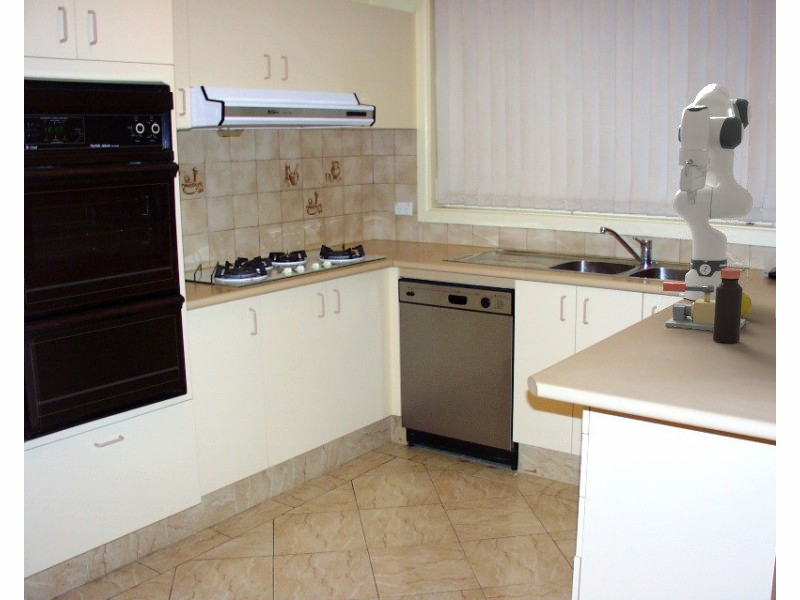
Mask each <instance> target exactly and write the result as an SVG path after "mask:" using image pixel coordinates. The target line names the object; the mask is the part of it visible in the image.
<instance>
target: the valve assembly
mask: <svg viewBox="0 0 800 600" xmlns="http://www.w3.org/2000/svg"><path fill="white" fill-rule="evenodd" d="M710 296H711V293H707V292H704V299H698V300H697V301H695V300H694V301H693V302H692V304H689V303H682V302H679V303H678V302H674V303H673V306H672V316H671V318H669V319H668V320H667V321H666V322H665V327H666V326H676V327H683V328H682V329H686V328H692V329H691V330H696V329H701V330H700V331H706V330H710V331H709V332H714V315H715V300H710ZM745 324H746V318H741V322H740V330H741V329H742V327H743V326H744V325H745Z"/></svg>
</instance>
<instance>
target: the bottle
mask: <svg viewBox="0 0 800 600" xmlns="http://www.w3.org/2000/svg"><path fill="white" fill-rule="evenodd" d="M740 276H741V270H740V269H739V268H728V267H727V268H725V269H721V276H720V277H721V279H722V280H721V283H720V284H719V285H718V286H717V287H716V298H715V315H714V331H712V332H713V334H712V335H713V336H712V339H713V341H714V342H716V343H720V344H737V343H739V341H740V337H741V335H740V333H741V329H740V322H741V319H742V318H741V306H742V293H743V287H742V285H741V284H740V283H739V280H740Z"/></svg>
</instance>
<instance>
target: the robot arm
mask: <svg viewBox="0 0 800 600" xmlns="http://www.w3.org/2000/svg"><path fill="white" fill-rule="evenodd" d="M681 115H682V116H681V120H680V125H679V126H678V139H677V140H678V141H679V143H680V146H679V150H678V164H677V165H678V166H680V167H681V166H682V167H681V169H680V170H681V171H680V175H679V176H680V179H679V189H678V190H677V192H676V193H675V194H674V197H673V199H672V208H673V211H674V212H675V214H676V215H677V216H678V217H679V218H681V219H682V220H683V221H684V223H686V225H687V226H688V228H689V230H690V233H691V238H692V239H691V240H692V252H691V253H692V257H691V258H690V263H689V264H690V270H689V271H688V272H687V273H685V277H684V283H686V286H703V285H710V286H714V292H712V293H711V296H710V300H715V298H716V287H717V286H718V285H719V284H720V283H721V280H722V279H721V277H720V276H721V269H725V268H728V260H727V247H728V245H727V244H728V239H727V238H728V237H727V236H726V235H725V233H724V232H722V231H721V230H719V229H717V228H715V227H712V225H711V224H710V220H736V219H737V220H738V219H741V218H746V217H747V216H748V215H749V214H750V212H751V211H752V209H753V205H754V199H753V196H752V194H751V193H750V191H749V190H748V189H746V188H744V187H743V186H742V185H740V184H739V183H738V182H737V180H736V178H735V175H734V161H735V160H734V159H735V149H736V148H737V147H739V146H740V144H742V142H743V139H744V136H745V129H746V128H747V127H748V125H749V124H750V122H751V119H752V115H753V111H752V107H751V104H750V102H749V101H748V99H745V98H739V97H738V98H735V99H734V98H733V99H732V98H730V94H729V91H728V89H727V88H726V87H725V86H724V85H722V84H719V83H718V84H717V83H712V84H708V85H707V86H705V87H704V88H703V89H702V90H701V91H700V92H698V94H697V96H696V98H695V99H694V102H692V103H690V104H689V105H688V106H687V107H684V108H683V111H682V114H681ZM706 185H707V186H706ZM678 296H679V297H681V298H685V299H687V300H691V301H694V302H695V301H697V300H698V299H704V292H701V291H685V292H680V293H678Z"/></svg>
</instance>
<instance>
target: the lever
mask: <svg viewBox="0 0 800 600" xmlns="http://www.w3.org/2000/svg"><path fill="white" fill-rule="evenodd" d="M662 291H663V292H676V293H677V292H678V293H679V292H680V293H683V292H685V291H701V292H707V293H712V292H714V286H710V285H703V286H686V283H685V282H677V281H676V282H675V281H674V282H673V281H663V285H662Z"/></svg>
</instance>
